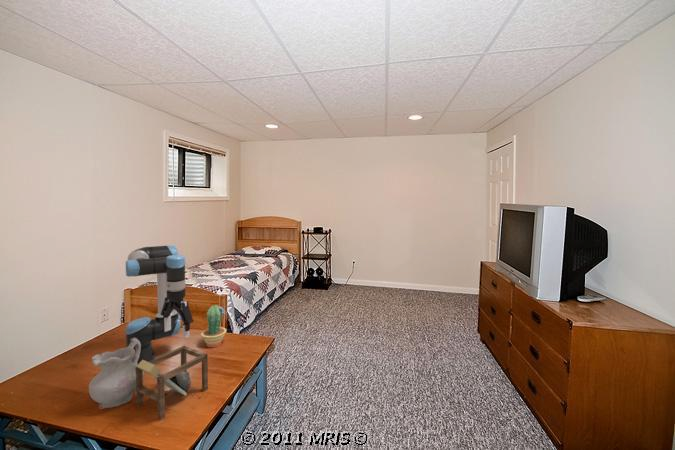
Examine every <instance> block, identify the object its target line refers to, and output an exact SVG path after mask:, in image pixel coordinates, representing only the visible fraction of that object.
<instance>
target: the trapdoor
mask: <svg viewBox="0 0 675 450" xmlns="http://www.w3.org/2000/svg"><path fill="white" fill-rule="evenodd" d="M137 367H138V368H140V369H141V370H142V371H143V373H146V374H148V375H150V376H152V377H154V378H155V379H157V378H158V377H160V376H162V375H164V374H165V373H161V371H162V369H160V368H159V367H158V366H156V365H154V364H151V363H149V362H147V361H145V360H142V361H141V362H140V363H139V364H138V365H137ZM164 386H166V387H167V388H169V389H171V390H173V391H175V392H177V393H179V394H181V395H183V396H185V397H186V396H187V395H188V393H187V392H185V390H182V389H181V388H180V387H178V386H177V385H176V384H175V383H173V382H172V381H171V380H170V379H168V380H166V381H164Z"/></svg>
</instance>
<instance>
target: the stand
mask: <svg viewBox="0 0 675 450" xmlns="http://www.w3.org/2000/svg"><path fill="white" fill-rule="evenodd" d="M179 354H180V366H178V367H176V368H173V369H172V370H170V371H168V373H167V372H165V373H163V374H164V375H162V376H160V377H158V378H156V389H157V391H154V390H152V389H151V388H149V387H147V386H145V385H143V383H144V382H143V381H144V372H143V373H142V370H141V369H140V368H138V367H136V391H135V395H136V396H135V398H136V400H135V401H136V407H138V408H140V407H142V406H143V405H144V396H147V397H148V398H149V399H152V400H153V401H156V402H157V419H158V420H160V421H161V420H163V419H164V418H165V417H166V411H165V410H166V408H165V407H166V406H165V405H166V400H165V399H166V398H165V384H164V381H166V380H168V379H170V378H172V377H174V376H176V375H177V374H179V373H181V372H183V371H184V372H185V371H186V372H188V369H191V368H192V367H194V366H196V365H198V364H200V363H201V391H202V392H206V391H208V389H209V381H208V380H209V379H208V378H209V368H208V367H209V366H208V365H209V363H208V360H209V359H208V353H205V352H202V351H200V350H196V349H194V348H191V347H189V346H186V345H183V346H180V347H178V348H175V349H174V350H171V351H168V352H167V353H165V354H162V355H161V356H158V357H155V359H153V360H151V361H149V363H151V364H154V365H155V366H156V365H158V364H160V363H162V362H164V361H167V360H169V359H171V358H173V357H175V356H177V355H179ZM187 354H188V355H189V356H193V357H195V358H194V359H191V360H189V361H188V362H187Z"/></svg>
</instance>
